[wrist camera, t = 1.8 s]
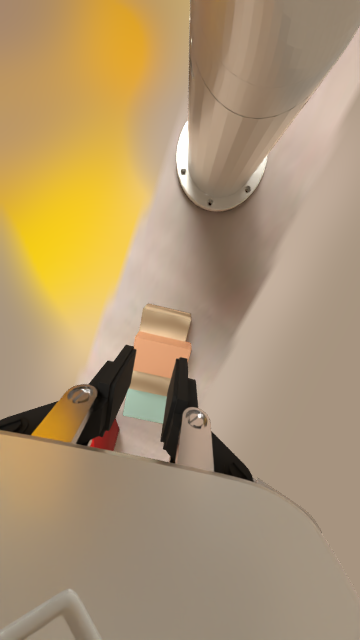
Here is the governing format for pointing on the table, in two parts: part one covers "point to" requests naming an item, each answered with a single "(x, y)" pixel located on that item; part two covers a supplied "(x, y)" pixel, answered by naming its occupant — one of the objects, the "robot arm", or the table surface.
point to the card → (158, 353)
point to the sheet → (167, 326)
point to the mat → (145, 406)
